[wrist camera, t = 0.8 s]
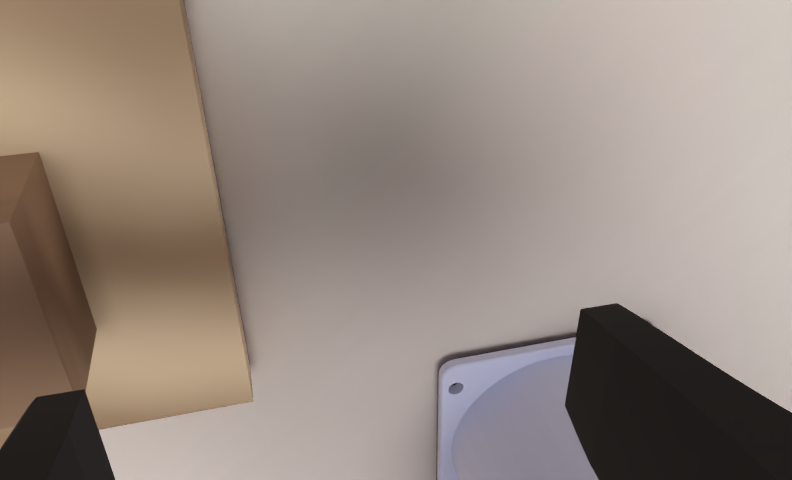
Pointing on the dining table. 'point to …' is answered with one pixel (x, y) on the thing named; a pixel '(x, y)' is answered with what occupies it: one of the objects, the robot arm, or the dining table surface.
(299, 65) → the dining table surface
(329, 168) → the dining table surface
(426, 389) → the dining table surface
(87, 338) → the brown wooden block
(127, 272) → the oak board
